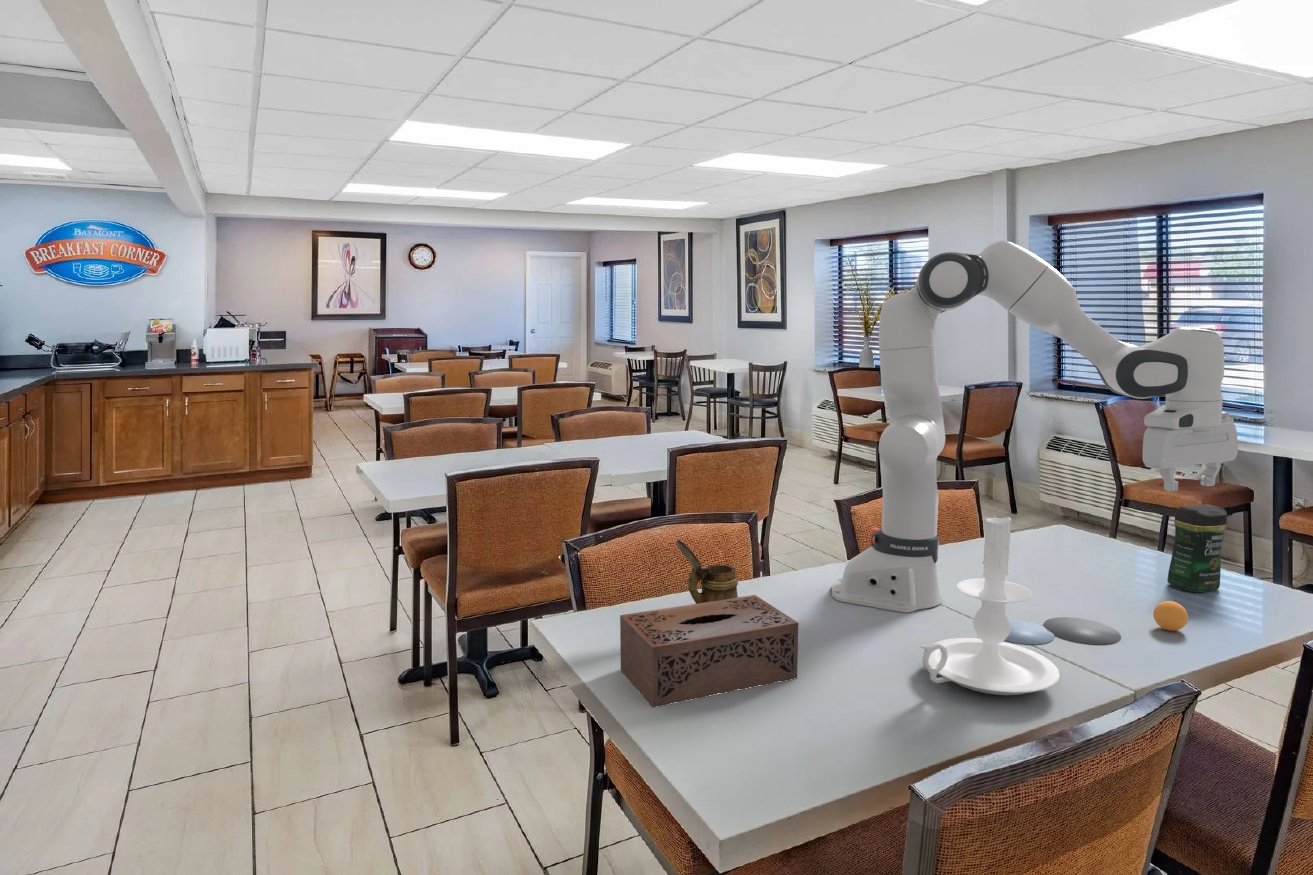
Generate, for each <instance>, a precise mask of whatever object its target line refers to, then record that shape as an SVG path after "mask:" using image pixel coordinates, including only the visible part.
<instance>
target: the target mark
mask: <svg viewBox="0 0 1313 875" xmlns="http://www.w3.org/2000/svg"><path fill="white" fill-rule="evenodd" d="M1042 626H1043V627H1045V628H1047V629H1048V630H1050V631H1051V632H1052V633H1053V634H1054V637H1057V638H1060V639H1062V640H1065V641H1068V642H1073V643H1077V642H1079V643H1078V644H1083V643H1084V645H1093V646H1095V645H1097V646H1104V645H1105V646H1106V645H1112V644H1116V643H1118V642H1120V641H1121V638H1122V637H1121V636H1122V635H1121V634H1120V632H1119V631H1118V630H1116V629H1115V628H1113V627H1112V626H1110V625H1108V624H1105V623H1101V622H1098V621H1094V620H1090V619H1085V618H1081V617H1080V618H1079V617H1069V616H1067V617H1066V616H1062V617H1061V616H1060V617H1051V618H1049V619H1047V620H1044V622H1043V624H1042Z"/></svg>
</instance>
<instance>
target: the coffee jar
mask: <svg viewBox="0 0 1313 875" xmlns="http://www.w3.org/2000/svg"><path fill="white" fill-rule="evenodd" d="M1173 521H1174V522H1173V524H1174V527H1175V531H1174V542H1173V548H1172V553H1171V560H1170V563H1169V568H1168V572H1167V573H1168V574H1167V580H1166V581H1167V583H1168V584H1169V585H1171V586H1172V587H1173V588H1175V589H1177V590H1181V591H1183V590H1184V591H1189V592H1191V593H1192V592H1193V593H1205V592H1206V593H1207V592H1214V591H1217V590H1219V589H1220V588H1221V587H1220V586H1221V573H1222V572H1221V571H1222V570H1221V568H1222V567H1221V562H1222V559H1221V558H1222V546H1223V545H1222V544H1223V537H1224V534H1225V531H1226V529H1227V524H1228V513H1227V511H1226V510H1225V508H1224V507H1221V506H1217V505H1213V504H1209V503H1208V504H1196V505H1195V504H1193V505H1192V504H1191V505H1180V506H1179V507H1177V508H1176V511H1175V514H1174V520H1173Z"/></svg>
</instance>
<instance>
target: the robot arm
mask: <svg viewBox="0 0 1313 875" xmlns="http://www.w3.org/2000/svg"><path fill="white" fill-rule="evenodd" d="M979 295H980V296H984V297H988V298H989V299H991V300H993V301H995V302H996V303H998V304H999V305H1000V306H1001V307H1003V308H1004V309H1005V310H1007V311H1008V312H1009V313H1010V314H1012V316H1013V315H1014V317H1016V318H1018V319H1019V320H1021V321H1022V322H1024V323H1026V324H1027V325H1030V326H1032V327H1034V328H1035V329H1038V330H1041V331H1043V332H1046V333H1048V334H1051V335H1053V336H1055V337H1057V338H1058V339H1059V338H1060V339H1061V340H1062V341H1063V342H1065V343H1066V344H1067V345H1069V347H1071V348H1073V350H1075V351H1076V352H1077V353H1079V354H1080V355H1081V356H1083V358H1085V359H1087V360H1088V362H1090V363H1091V364H1092V365H1093V366H1094V368H1095V369H1096V371H1097V373H1098V375H1099V377H1100V379H1101V381H1102V382H1103V384H1104V385H1105V387H1106V388H1107V389H1108V390H1110V391H1111V392H1113V393H1115V394H1118V395H1121V396H1127V397H1132V398H1134V399H1141V400H1142V399H1150V398H1154V397H1159V396H1160V397H1161V396H1165V404H1163V405H1162V406H1160V407H1158V408H1157V409H1154V410H1153V411H1151V412H1149V413H1147V414H1146V415H1144V418H1143V424H1144V426H1145V427H1147V428H1146V429H1145V431H1144V434H1143V437H1142V438H1143V440H1142V462H1143V464H1144V466H1145V467H1147V468H1150V469H1157V470H1159V474H1160V476H1161V479H1162V480H1163V490H1164V491H1167V492H1174V491H1179V481H1176V479H1175V476H1174V474H1175V473H1176V469H1177V468H1181V467H1190V466H1197V465H1198V466H1199V465H1204V466H1205V467H1206V468H1205V471H1204V474H1203V475H1200V485H1201V486H1203V487H1204V486H1206V487H1212V486H1215V485H1216V477H1217V475H1218V473H1219V472H1220V471H1221V470H1220V469H1221V468H1222V463H1223V462H1229V461H1234V460H1236V458H1237V455H1238V449H1239V448H1238V446H1239V445H1238V444H1239V443H1238V432H1237V427H1236V425H1235V421H1234V420H1235V419H1234V417H1233V416H1232V415H1231V414H1230V413H1229V412H1226V411H1223V401H1224V400H1223V399H1224V396H1223V394H1222V390H1221V389H1222V386H1221V385H1222V382H1223V379H1224V377H1225V350H1224V349H1225V348H1224V343H1223V342H1224V341H1223V339H1222V336H1221V335H1220V334H1219V333H1217V332H1216V331H1213V330H1210V329H1203V328H1196V327H1185V326H1184V327H1182V326H1180V327H1177V328H1174V329H1172V330H1171V331H1170V332H1169V333H1167V334H1165V335H1163V336H1161V337H1160V338H1158V339H1156V340H1153V341H1151V342H1147V343H1145V344H1142V345H1141V346H1140V345H1137V344H1132V343H1128V342H1124V341H1123V340H1122V341H1121V340H1119V339H1118V338H1116V337H1115V336H1113V335H1112V334H1111V333H1109V332H1108V331H1107V330H1106V329H1104V328H1103V327H1102V326H1101V325H1099V324H1098V323H1097V322H1096V321H1095V320H1093V319H1092V318H1091V317H1090V316H1088V315H1087V313H1085V311H1084V310H1083V308H1082V307H1081V305H1080V303H1079V300H1078V296H1077V291H1076V289H1075V287H1074V286H1073V285H1072V284H1071V282H1069V281H1068V280H1067V278H1066V276H1065V277H1064V275H1063V274H1061V273H1060V271H1058V270H1057V269H1056V268H1054V267H1053V266H1052V265H1050V264H1049V263H1048V262H1046V261H1045V260H1044V259H1043V258H1041V257H1039V256H1038V255H1036V254H1035V253H1033V252H1031V251H1030V250H1027V249H1025V248H1024V247H1022V246H1020V245H1018V244H1015V243H1013V242H1011V241H1008V240H999V241H995V242H993V243H990V244H989V245H988V246H986V247H985V248H984V249H983V250H982V251H981V252H980V253H979V254H973V253H971V254H970V253H963V252H954V251H949V252H942V253H939V254H936V255H935V256H933V257H931V258H930V259H929V260H927V261H926V262H925V263H924V265H923V266H922V267H921V269H920V271H919V273H918V276H917V279H916V282H915V284H914V287H913V288H912V289H911V290H910V291H909V290H908V291H906V292H900V293H897V294H894V295H892V296H890V297H888V298H887V299H885V301H884V302H883V304H882V306H881V309H880V314H879V324H878V349H879V352H878V353H879V368H880V369H879V370H880V383H881V390H882V393H883V395H884V399H885V400H884V401H885V405H886V409H887V410H886V411H887V414H888V415H887V416H888V420H889V422H888V423H889V425H887V426H886V427H885V429H883V432H882V433H881V436H880V438H879V441H878V442H879V443H878V454H879V466H880V476H881V487H882V510H881V511H882V513H881V529H879V528H878V527H877V526H876V527H872V528H871V529H870V534H869V535H870V537H871V540H870V547H868V548H867V549H865V550H864V551H862V552H860V553H859V554H857V555H856V556H854V557H853V558H851V559H850V560H849V561H848V562H847V563H846V565H845V568H844V571H843V573H842V574H843V575H842V577H841V578H839V579H837V580H835V581H834V582H833V584H832V587H831V595H832V597H833V598H834V599H835V601H837V602H842V603H847V604H852V605H853V604H854V605H855V604H856V605H861V606H865V607H872V608H878V609H884V610H887V611H896V612H900V613H912V612H915V611H917V610H923V609H929V608H933V607H936V606H938V605H940V604H941V603H942V596H941V592H940V587H939V581H938V580H939V579H938V572H937V570H938V569H937V562H938V559H939V555H940V540H939V534H938V533H937V532H938V517H939V516H938V513H939V495H938V494H939V493H938V484H937V483H938V482H937V480H938V479H937V460H938V457H939V455H940V454H941V452H942V451H943V450H944V447H945V444H946V431H945V420H944V414H943V413H944V412H943V406H942V401H941V394H940V388H939V382H938V381H939V379H938V378H939V377H938V362H937V360H938V359H937V348H936V332H935V331H936V330H935V329H936V321H937V318H938V316H939V315H940V314H942V313H945V312H947V311H952V310H955V309H956V310H957V309H958V308H960V307H962V306H964V305H965V304H966V303H967V302H969V301H971V299H973V298H975V297H976V296H979Z"/></svg>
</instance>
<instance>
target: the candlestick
mask: <svg viewBox="0 0 1313 875" xmlns="http://www.w3.org/2000/svg"><path fill="white" fill-rule="evenodd" d="M992 516H993V517H987V518H986V519H985V521H984V522H985V525H984V545H983V546H984V548H983V549H984V550H983V551H984V552H983V561H982V565H983V571H982V572H983V573H982V578H968V579H964V580H960V581H958V583H956V584H955V585H956V589H957V590H958V591H959V592H960V593H962V594H964V595H966V596H969V597H971V598H975V599H977V600H980V601H981V605H980V608H978V610H977V611H976V613H975V614H974V617H973V621H972V626H973V630H974V632H975V634H976V635H977V637H978V638H977V637H976V638H975V637H957V638H949V639H948V638H945V639H942V640H939V641H936V642H933V643H931V644H930V645H927V644H922V645H920V647H921V649H924V651H923V653H922V660H921V662H922V666H923V668H924V669H925V670H926V672H928V674H929V680H930V681H932V682H933V683H935V684H942V683H945V682H952V683H954V684H957V685H958V686H961V687H963V688H965V689H966V688H967V689H970V690H972V691H974V692H980V693H983V694H990V695H995V696H998V695H999V696H1000V695H1001V696H1017V695H1025V694H1029V693H1035V692H1039V691H1045V690H1047V689H1049V688H1051V687H1053V686H1055V685H1056V684H1057V683H1058V681H1060V676H1061V674H1060V671H1059V668H1058V667H1057V666H1056V664H1054V662H1052V661H1051V660H1049V659H1048V658H1046V657H1045V656H1043V655H1042V654H1040V653H1037V652H1036V651H1034V650H1030V649H1028V648H1025V647H1023V646H1019V645H1017V644H1014V643H1011V642H1010V643H1009V642H1005V639H1006V638H1007V636H1008V635H1009V633H1010V631H1011V622H1010V619H1011V618H1010V617H1009V615H1008V613H1007V612H1006V609H1005V607H1006V606H1005V605H1006V604H1008V603H1009V604H1010V603H1013V604H1014V603H1022V602H1027V601H1029V600H1031V599H1032V598H1033V597H1034V593H1033V592H1032V590H1030V589H1029V588H1027V587H1025V586H1023V585H1020V584H1018V583H1015V582H1011V581H1006V580H1005V578H1006V577H1007V576H1009V557H1010V556H1009V555H1010V540H1011V527H1012V526H1011V524H1012V518H1011V517H1010V516H1007V517H1000V518H999V517H996V515H995V514H993V515H992ZM937 675H941V677H937Z"/></svg>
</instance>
